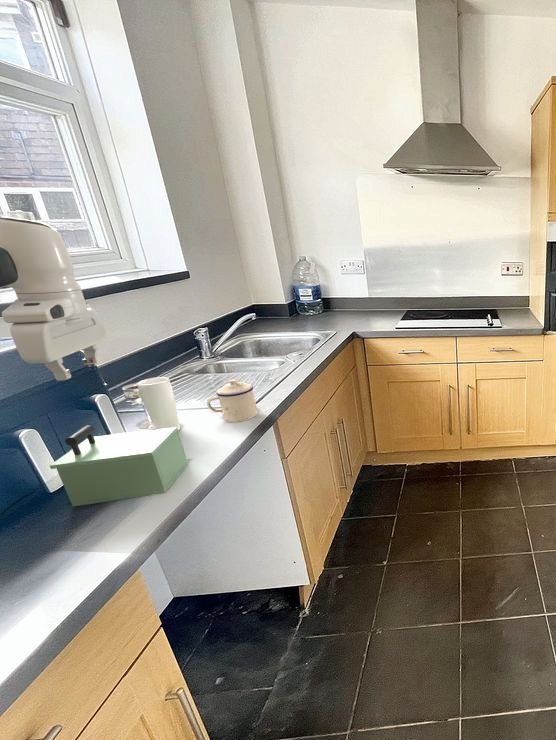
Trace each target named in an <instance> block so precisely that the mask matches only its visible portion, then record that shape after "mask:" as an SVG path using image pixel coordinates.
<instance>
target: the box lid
mask: <svg viewBox="0 0 556 740" xmlns="http://www.w3.org/2000/svg"><path fill="white" fill-rule="evenodd" d="M177 431H179V430H178V428H177V427H173V428H164V429H155V428H154V429H147V430H138V431H130V432H129V431H128V432H121V433H113V434H112V433H111V434H105V435H96V436H94V434H93V433H94V432H95V427H94V426H92V425H88V424H87V425H84V426H83V427H81V428H80V429H78V430H77V431H75V432H74V433H72V434H71V435H69V436H68V437H66V438H65V439H64V443H65V444H66V445H68V446H70V447H71V449H70V450H69V451H68V452H67V453H65V454H64V455H62V456H61V457H59V458H58V459H56V460H55V461H54V462H52V463H51V464H49V468H50V470H54V469H56V470H57V468H63V467H71V466H79V465H86V464H94V463H102V462H109V461H117V460H125V459H132V458H140V457H148V456H153V455H154V454H155V453H156V452H157V451H158V450H159V449H160V448H161V447H162V446H163V445H164V444H165V443H166V442H167V441H168V440H169V439H170V438H171V437H172V436H173V435H174V434H175V433H176V432H177ZM81 441H82V442H81Z"/></svg>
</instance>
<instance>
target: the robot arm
mask: <svg viewBox="0 0 556 740" xmlns="http://www.w3.org/2000/svg"><path fill="white" fill-rule="evenodd" d="M74 269H75V268H74V264H73V261H72V258H71V255H70V253H69V251H68V248H67V245H66V243H65V242H64V240H63V238H62V236H61V235H60V233H59V232H58V231H57V229H56V228H55V227H53V226H51V225H49V224H48V223H45V222H43V221H37V220H31V219H25V218H19V217H18V218H17V217H11V216H0V290H7V289H13V291H14V293H15V295H16V298H17V299H15V300H14V301H13V302H12V303H11V304H10V305H9V306H8V307H7V308H5V309H4V310H3V311H2V312H1V317H2V319H3V321H4V322H5V323H6V324H11V325H10V328H9V329H10V331H9V332H10V335H11V338H12V340H13V344H14V345H15V347H16V350H17V352H18V353H19V356H20V358H21V359H22V361H24V362H26V363H27V364H31V365H32V364H33V365H34V364H44V366H45V367H46V368H47V369H48V370H49V371H50V372H52V373H53V377H54V378H55V380H56V381H58V382H59V381H66V380H69V379H71V378H72V373H71V371H70V369H68V368H65V366H64V365H63V363H64V360H63V358H65V357H66V356H70V355H72V354H74V353H76V352H80V351H83V358H82V362H83V364H84V366H85V367H86V368H94V367H96V366H98V365H99V359H98V352H99V351H98V349H99V347H98V345H97V344H100V343H102V342H104V341H106V339H107V331H106V329H105V326H104V325H103V322H102V319H101V318H100V316H99V314H98V312H97V311H96V309H94V308H92V307H91V305H90V304H88V303H87V302H86V300H85V297H84V293H83V291H82V288H81V286H80V284H79V283H78V282H77V280H76V278H75V275H74V271H75V270H74Z"/></svg>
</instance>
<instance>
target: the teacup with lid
mask: <svg viewBox="0 0 556 740" xmlns="http://www.w3.org/2000/svg"><path fill="white" fill-rule="evenodd" d="M254 393H255V392H254V386H253V385H252V384H251V383H248V382H241V381H238V380H237V379H236V378H233V379H229V380H228V383H226V384H225V385H224V386H221V387H219V388H218V389H217V390H216V395H217V396H212V397H209V399H208V400H207V401H206V406H207V409H208V410H209V411H211V412H212V413H215V414H222V416H223V419H224V421H226V422H229V423H240V422H244V421H248V420H250V419H253V418H255V417H256V416H257V415H258V414H259V412H258V407H257V403H256V398H255V394H254ZM216 400H218V401H219V404H220V408H221V409H216V408H214V407H212V405H211V403H212V401H216Z"/></svg>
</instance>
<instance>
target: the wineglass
mask: <svg viewBox="0 0 556 740" xmlns="http://www.w3.org/2000/svg"><path fill="white" fill-rule="evenodd" d="M137 383H138V382H134V383H130V384H127V385H124V386H122V387H121V389H122V390H123V397H124V399H126V401H127V402H130V403H133V404H138V405H140V406H142V408H143V410H144V413H145V416H146V418H147V422H144V423H142V424H141V425H139V429H150V428H154V425H153V423H152V421H151V419H150V416H149V414H148V412H147V410H146V408H145V406H144V403H143V401H142V399H141V396H140V393H139V390H138V386H137Z"/></svg>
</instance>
